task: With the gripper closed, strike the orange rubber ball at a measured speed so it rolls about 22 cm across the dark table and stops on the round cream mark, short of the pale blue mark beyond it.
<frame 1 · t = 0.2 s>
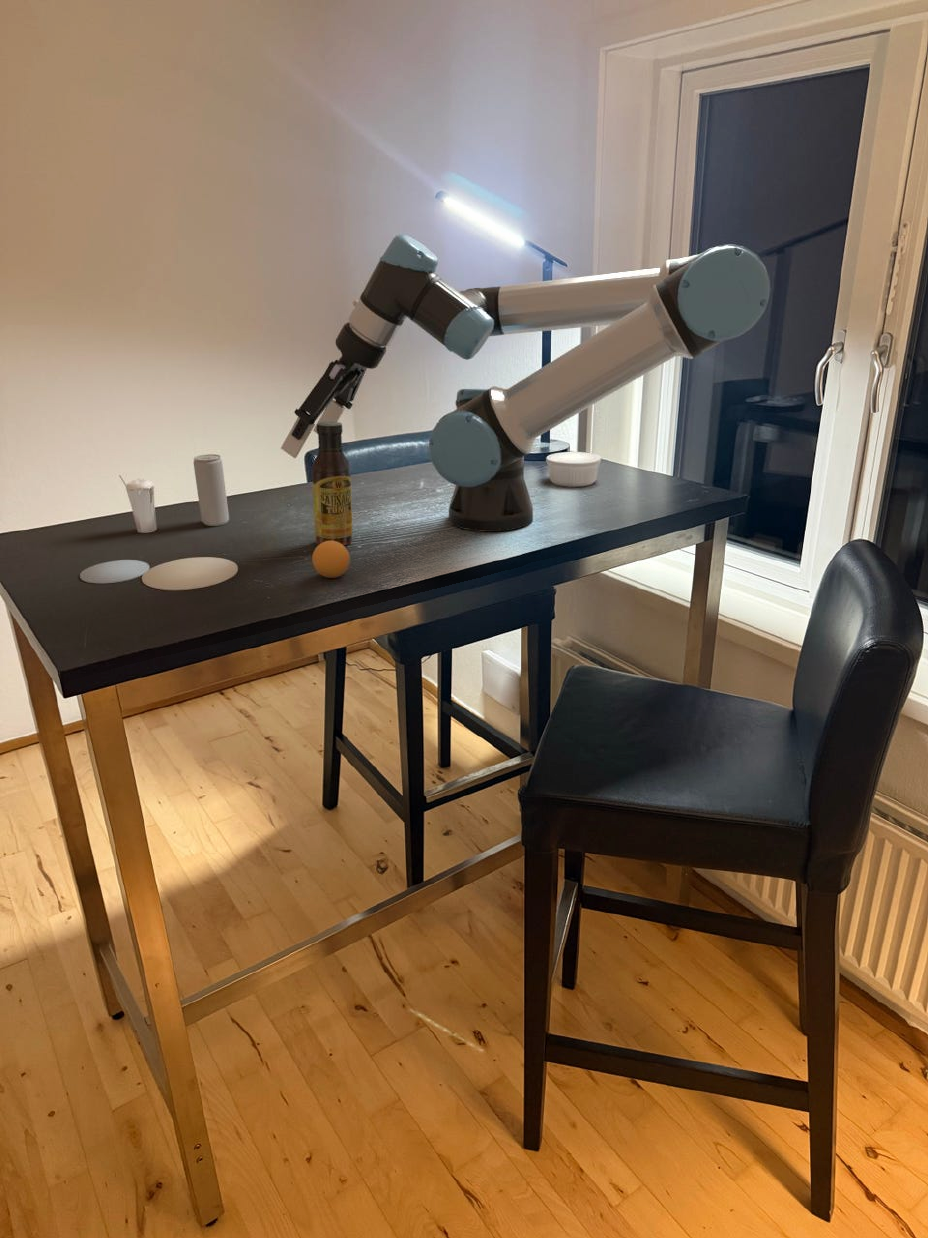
hand: (304, 443, 143), 15 cm above the table, tool tilted 35°, fingers open, 13 cm apart
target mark: (190, 573, 130), on the table
ball: (331, 559, 127), on the table
sauce bottle: (335, 544, 143), on the table
beverage can: (216, 524, 154), on the table
milkshake: (144, 531, 151), on the table
ramekin: (572, 482, 179), on the table
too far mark: (115, 571, 131), on the table
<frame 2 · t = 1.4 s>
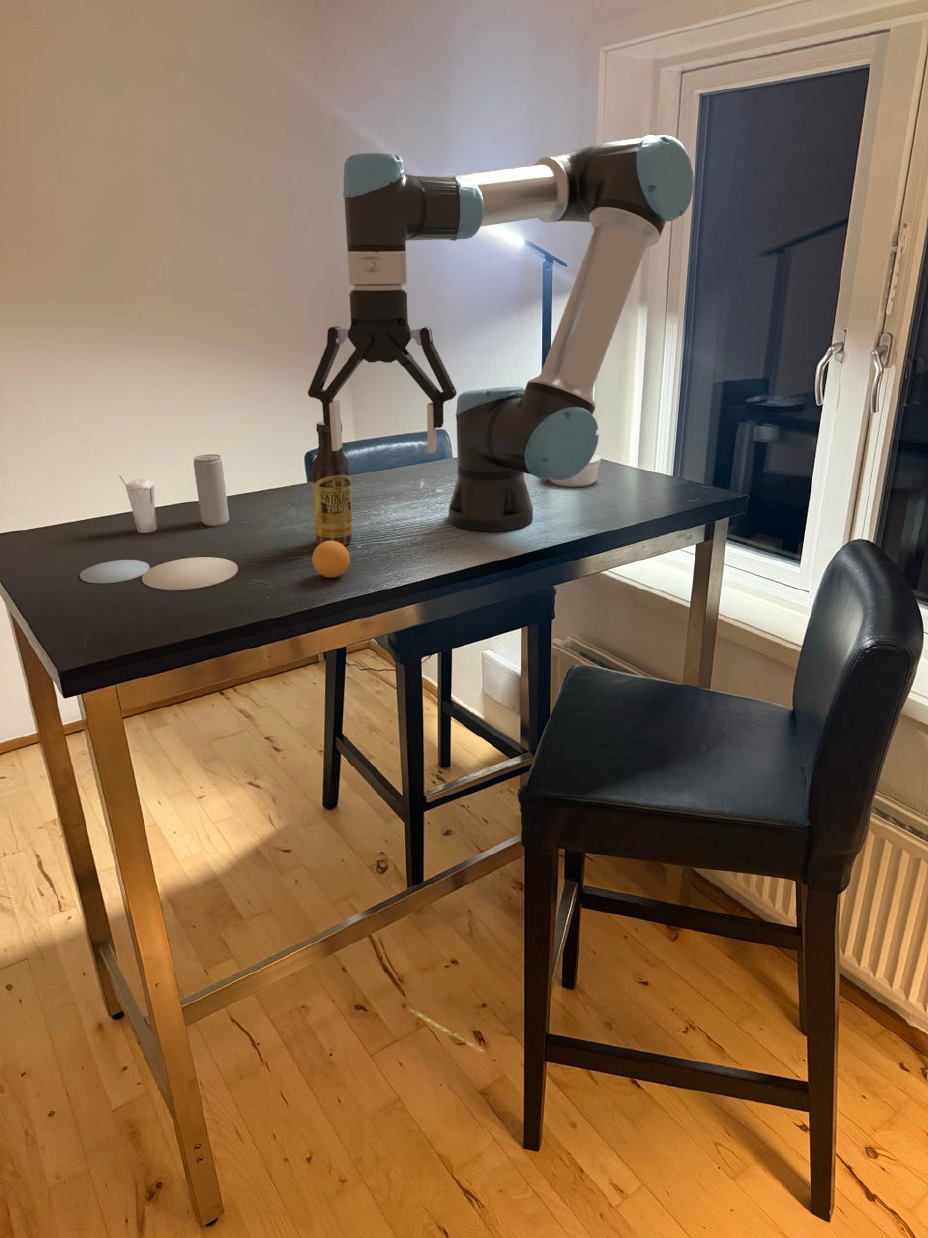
hand: (384, 450, 120), 19 cm above the table, tool pointing down, fingers open, 13 cm apart
nothing on the table moved.
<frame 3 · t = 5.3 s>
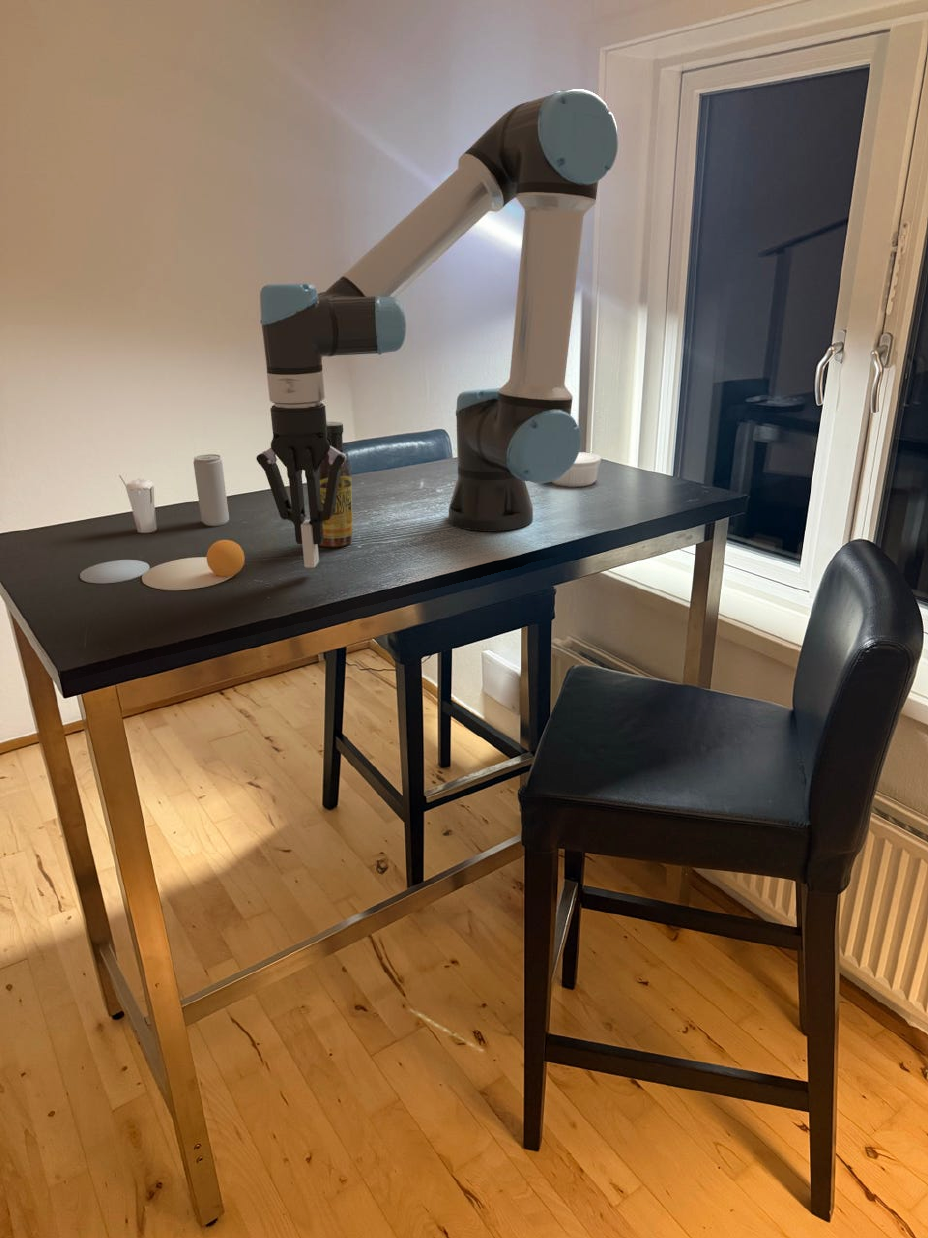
hand: (311, 564, 127), 2 cm above the table, tool pointing down, fingers closed
ball: (225, 558, 128), on the table
everything else where it was.
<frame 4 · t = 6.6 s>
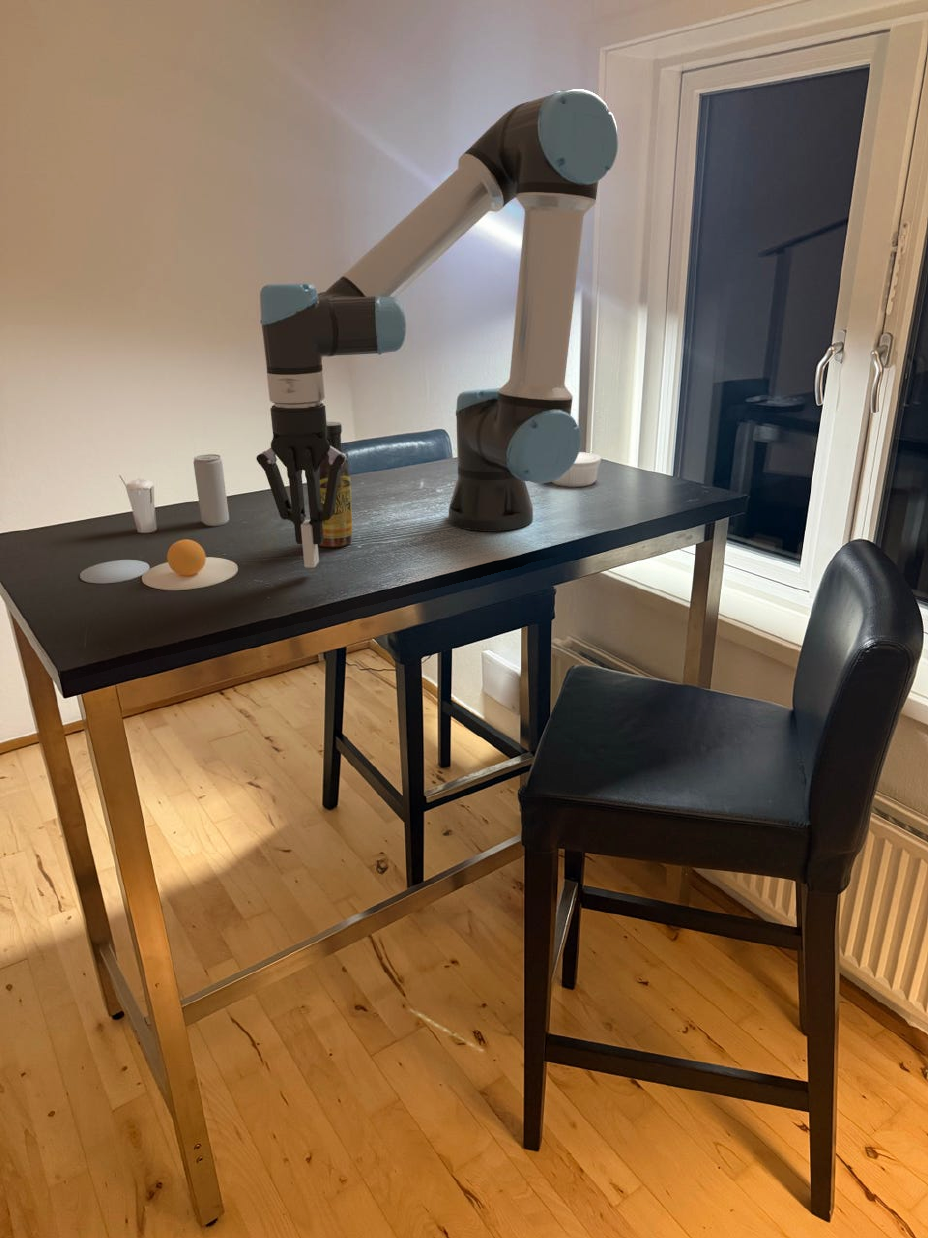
hand: (311, 564, 127), 2 cm above the table, tool pointing down, fingers closed
ball: (186, 557, 128), on the table
everything else where it was.
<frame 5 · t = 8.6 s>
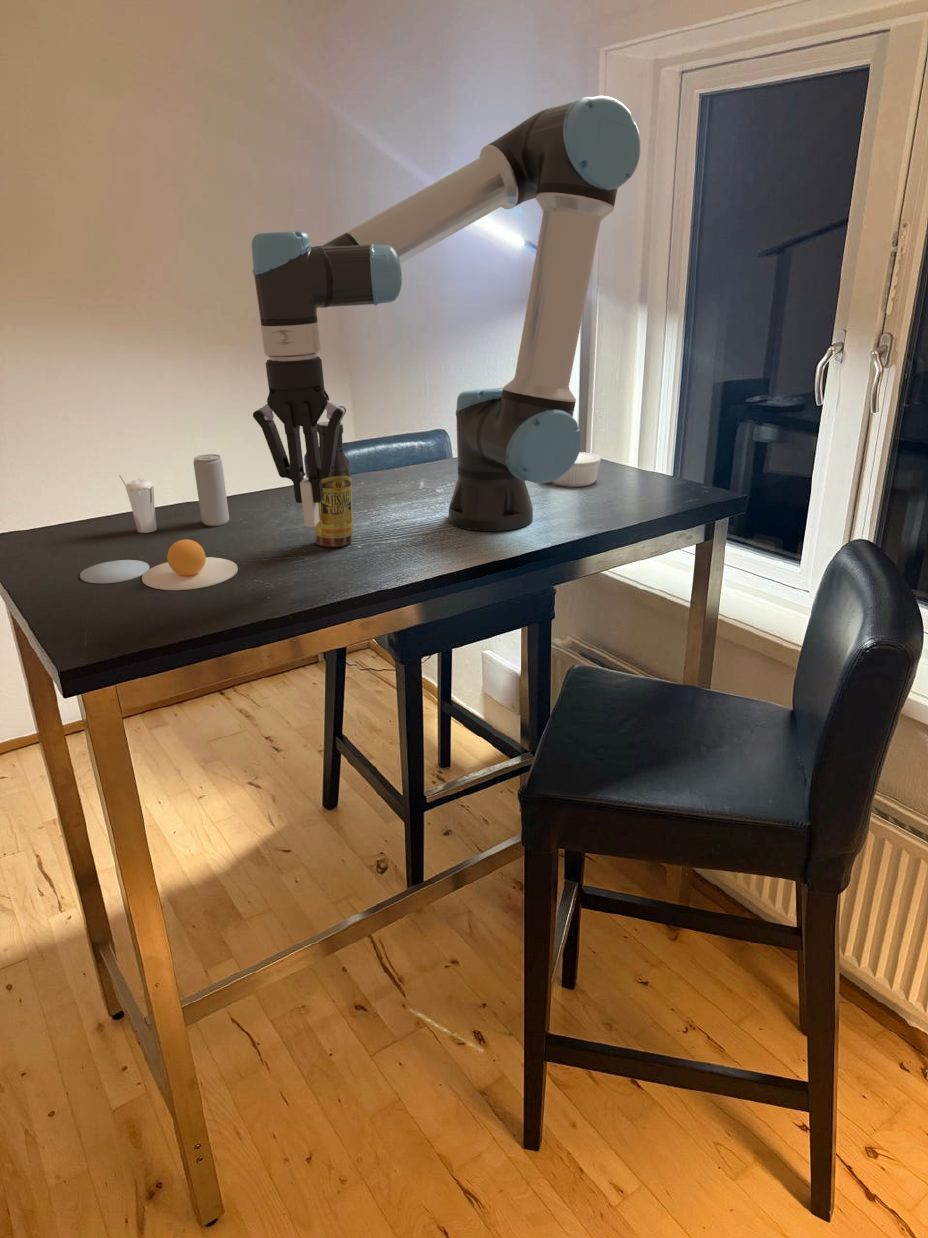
hand: (312, 523, 125), 8 cm above the table, tool pointing down, fingers closed
nothing on the table moved.
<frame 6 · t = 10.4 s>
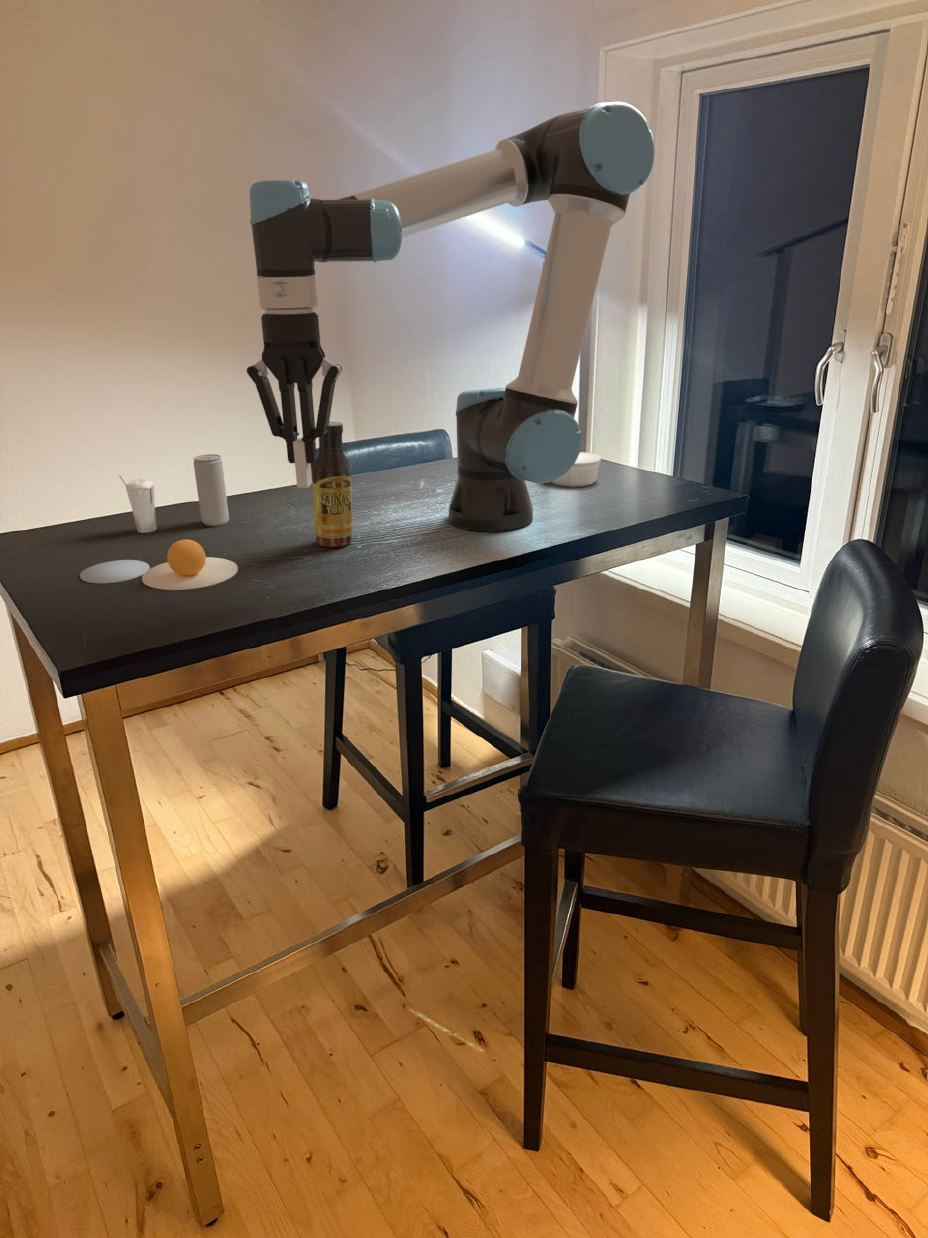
hand: (304, 485, 123), 14 cm above the table, tool pointing down, fingers closed
nothing on the table moved.
at the end: ball 0.6 cm from the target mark (horizontally); ball at rest at the end (0.0 cm/s); ball moved 22.0 cm from its start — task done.
